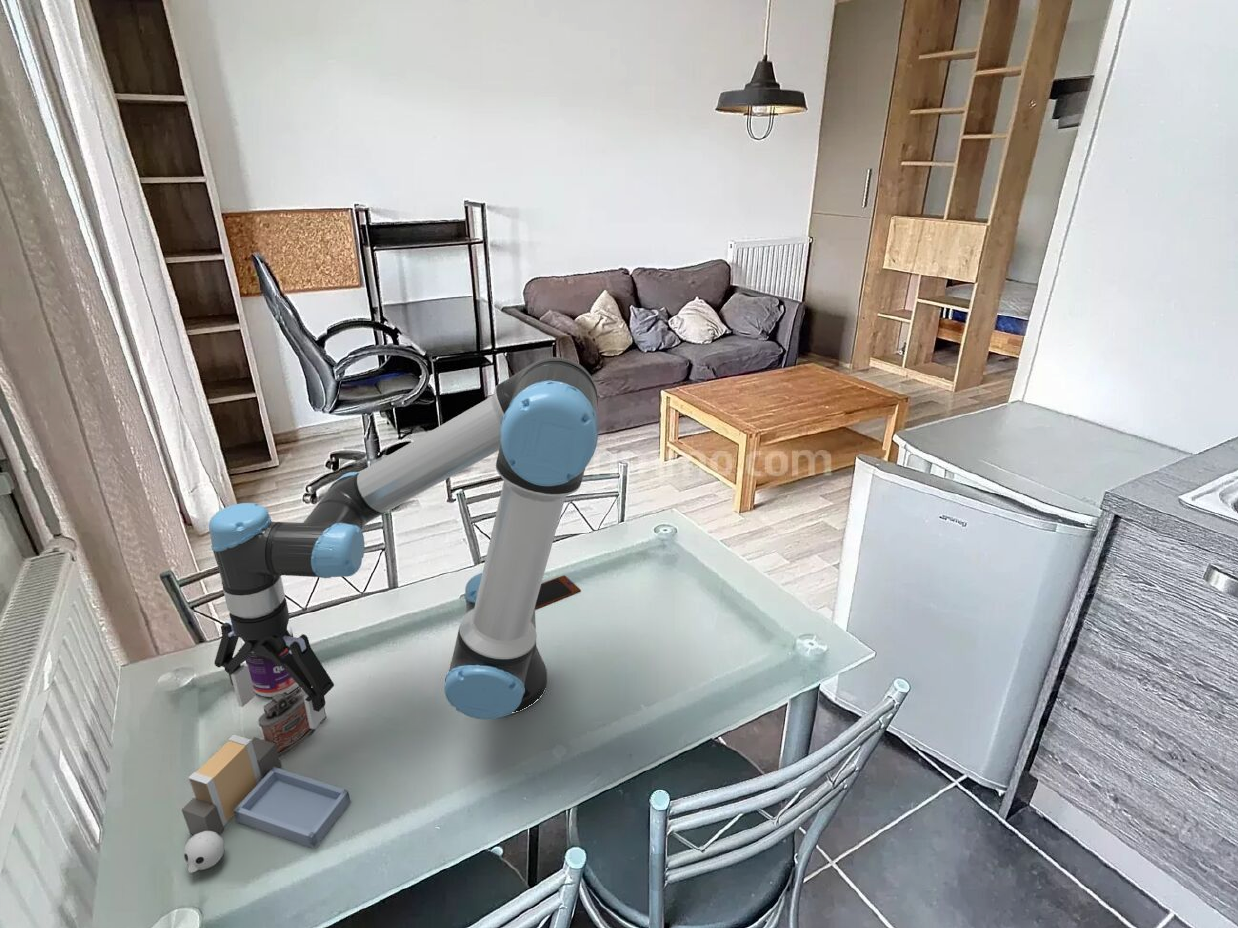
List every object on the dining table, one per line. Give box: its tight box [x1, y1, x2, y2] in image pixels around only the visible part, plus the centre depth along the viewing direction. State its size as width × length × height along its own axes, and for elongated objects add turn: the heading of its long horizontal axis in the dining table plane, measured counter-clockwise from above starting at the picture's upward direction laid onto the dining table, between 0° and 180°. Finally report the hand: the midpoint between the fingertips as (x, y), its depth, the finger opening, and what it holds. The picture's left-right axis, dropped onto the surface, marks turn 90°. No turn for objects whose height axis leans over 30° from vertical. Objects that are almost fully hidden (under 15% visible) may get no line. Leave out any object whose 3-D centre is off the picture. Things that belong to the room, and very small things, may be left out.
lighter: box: [257, 684, 316, 759], centre depth 109 cm, size 8×3×10 cm, turn 148°
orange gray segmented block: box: [181, 689, 327, 836], centre depth 104 cm, size 4×24×9 cm, turn 163°
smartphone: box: [535, 575, 582, 611], centre depth 149 cm, size 7×1×15 cm
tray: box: [234, 767, 351, 849], centre depth 100 cm, size 13×8×2 cm, turn 73°
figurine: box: [183, 831, 225, 874], centre depth 92 cm, size 5×5×5 cm
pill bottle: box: [240, 623, 297, 698], centre depth 120 cm, size 8×8×14 cm
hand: (281, 711), depth 109 cm, fingers open, 13 cm apart
